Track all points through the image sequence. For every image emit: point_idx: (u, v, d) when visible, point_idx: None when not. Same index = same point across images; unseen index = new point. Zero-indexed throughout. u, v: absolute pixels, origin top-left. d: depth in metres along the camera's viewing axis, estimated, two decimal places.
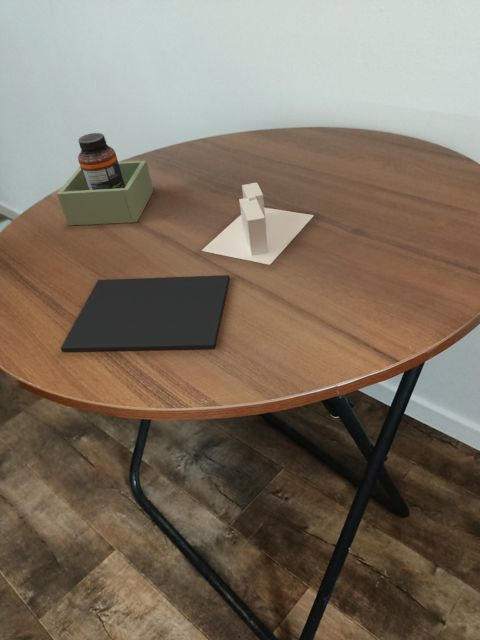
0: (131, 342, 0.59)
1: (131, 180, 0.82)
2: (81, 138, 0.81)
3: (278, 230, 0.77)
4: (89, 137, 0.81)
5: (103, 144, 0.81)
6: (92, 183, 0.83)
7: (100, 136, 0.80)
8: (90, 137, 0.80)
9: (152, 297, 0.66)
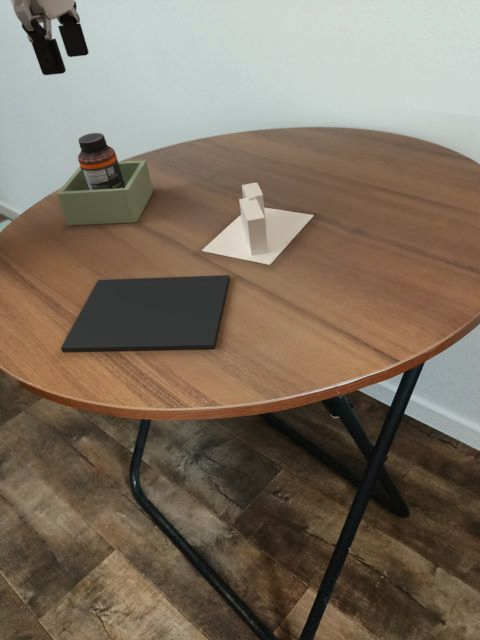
0: (131, 342, 0.59)
1: (131, 180, 0.82)
2: (81, 138, 0.81)
3: (278, 230, 0.77)
4: (89, 137, 0.81)
5: (103, 144, 0.81)
6: (92, 183, 0.83)
7: (100, 136, 0.80)
8: (90, 137, 0.80)
9: (152, 297, 0.66)
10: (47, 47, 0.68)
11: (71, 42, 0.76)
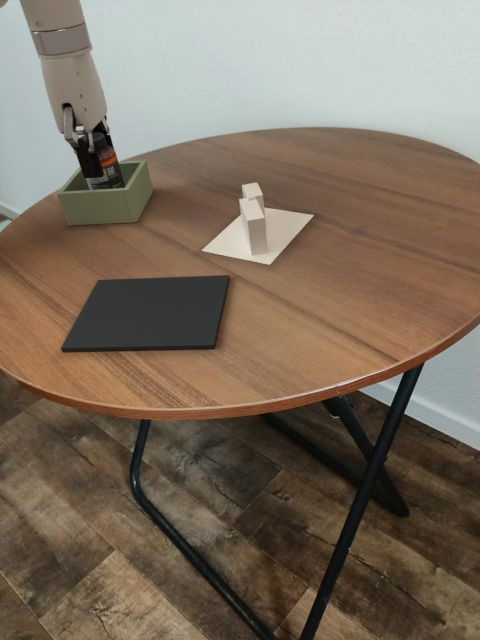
0: (131, 342, 0.59)
1: (131, 180, 0.82)
2: None
3: (278, 230, 0.77)
4: None
5: (103, 144, 0.81)
6: (92, 183, 0.83)
7: (100, 136, 0.80)
8: None
9: (152, 297, 0.66)
10: (89, 158, 0.78)
11: None
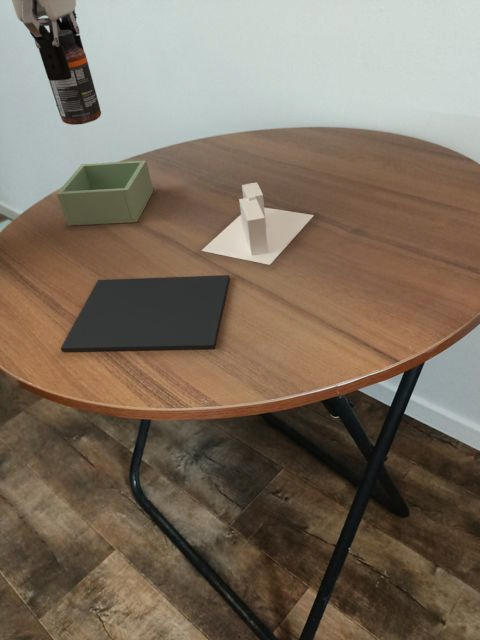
0: (131, 342, 0.59)
1: (131, 180, 0.82)
2: None
3: (278, 230, 0.77)
4: None
5: (71, 41, 0.71)
6: (58, 88, 0.73)
7: (68, 31, 0.70)
8: None
9: (152, 297, 0.66)
10: (54, 53, 0.68)
11: None
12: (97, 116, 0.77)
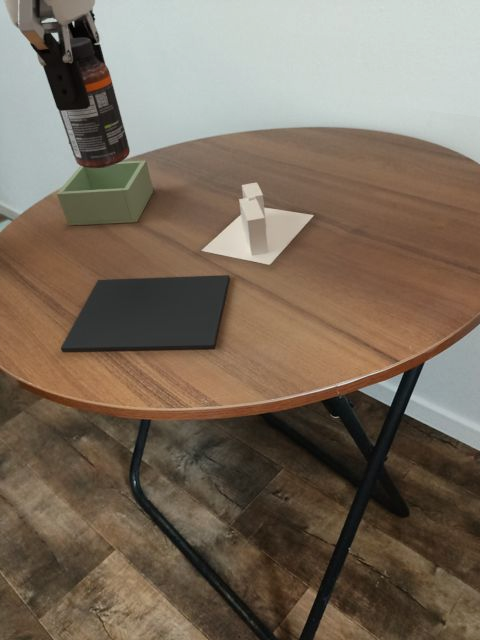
0: (131, 342, 0.59)
1: (131, 180, 0.82)
2: None
3: (278, 230, 0.77)
4: None
5: (89, 53, 0.49)
6: (71, 120, 0.51)
7: (84, 40, 0.49)
8: None
9: (152, 297, 0.66)
10: (66, 73, 0.47)
11: None
12: (125, 156, 0.56)
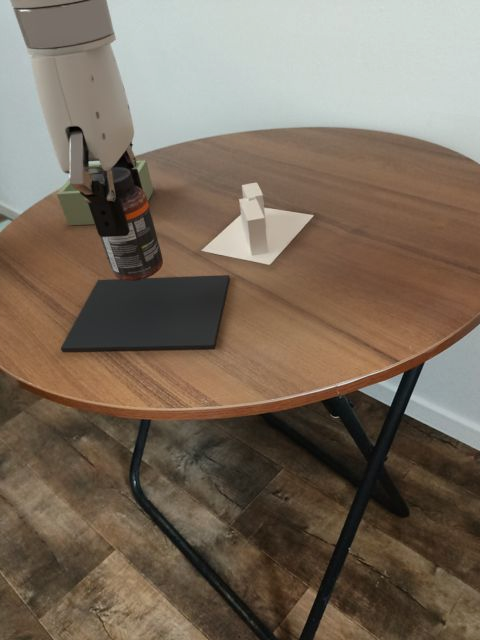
0: (131, 342, 0.59)
1: None
2: (96, 176, 0.53)
3: (278, 230, 0.77)
4: None
5: (129, 185, 0.53)
6: (111, 242, 0.55)
7: (125, 173, 0.53)
8: None
9: (152, 297, 0.66)
10: (109, 209, 0.51)
11: None
12: (159, 268, 0.59)
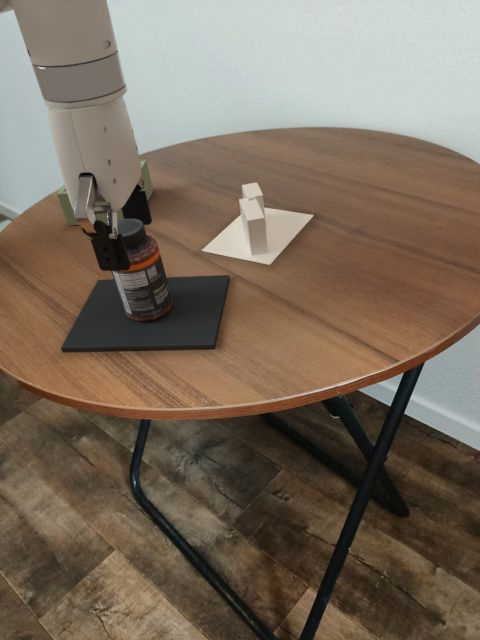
0: (131, 342, 0.59)
1: None
2: None
3: (278, 230, 0.77)
4: (122, 226, 0.57)
5: (142, 236, 0.57)
6: (125, 288, 0.59)
7: (138, 225, 0.56)
8: (124, 227, 0.56)
9: None
10: (111, 246, 0.52)
11: (132, 211, 0.60)
12: (169, 309, 0.63)
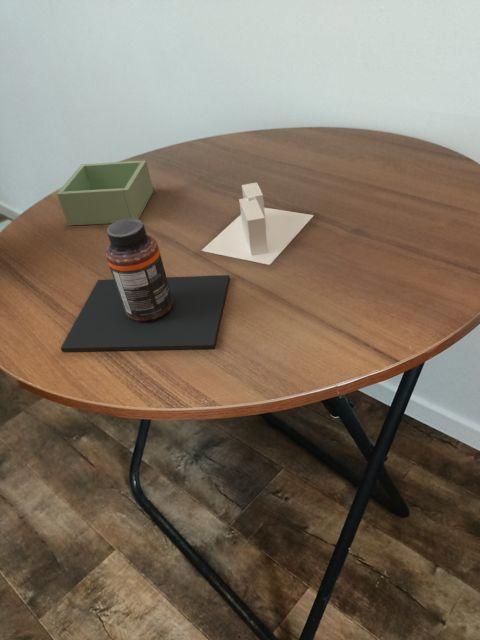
0: (131, 342, 0.59)
1: (131, 180, 0.82)
2: (111, 228, 0.57)
3: (278, 230, 0.77)
4: (122, 226, 0.57)
5: (142, 236, 0.57)
6: (125, 288, 0.59)
7: (138, 225, 0.56)
8: (124, 227, 0.56)
9: None
10: None
11: None
12: (169, 308, 0.63)
